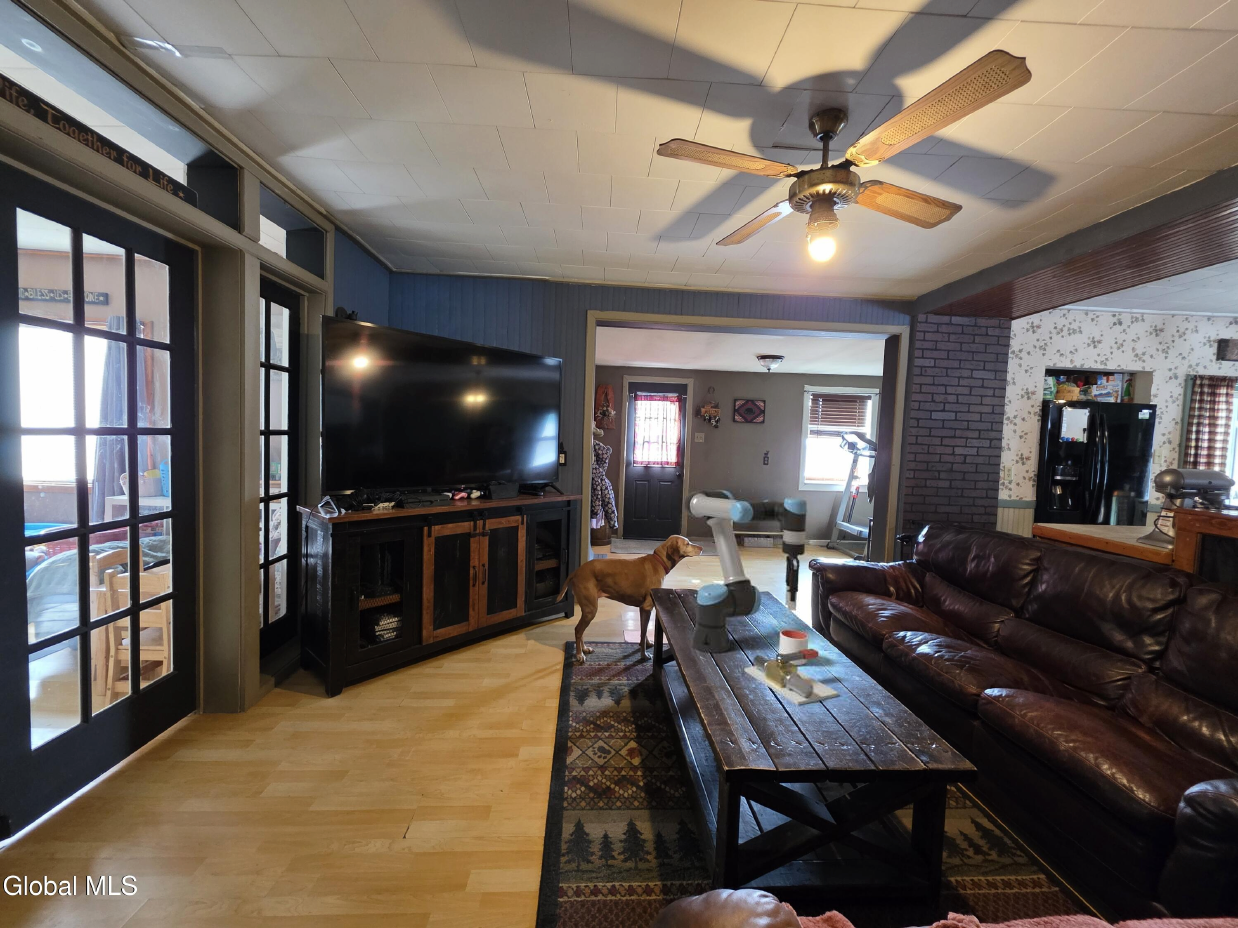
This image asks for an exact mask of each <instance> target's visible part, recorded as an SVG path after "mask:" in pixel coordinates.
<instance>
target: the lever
mask: <svg viewBox="0 0 1238 928" xmlns="http://www.w3.org/2000/svg"><path fill="white" fill-rule="evenodd" d="M817 658H819V651H818V650H817V649H814V648H808V649H806V650H800V651H799V652H794V653H789V654H779V653H776V656H775V660H776V661H777V662H778V663H781V664H787V663H788V662H790V661H796V660H801V659H804V660H807V661H808V660H812V659H817Z"/></svg>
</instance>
